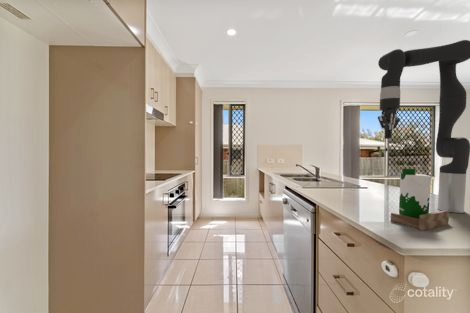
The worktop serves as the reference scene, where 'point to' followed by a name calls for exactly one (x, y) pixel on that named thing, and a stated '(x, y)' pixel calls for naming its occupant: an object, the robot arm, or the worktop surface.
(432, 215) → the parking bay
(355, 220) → the worktop surface
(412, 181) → the soya milk
